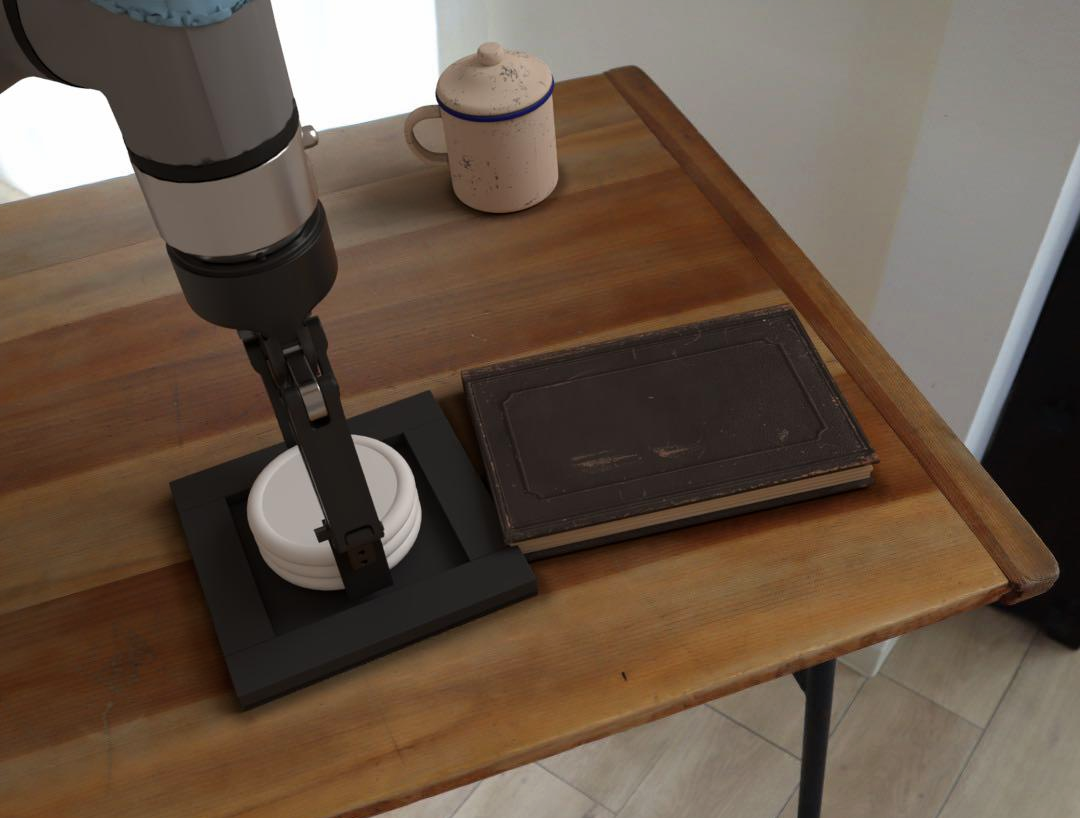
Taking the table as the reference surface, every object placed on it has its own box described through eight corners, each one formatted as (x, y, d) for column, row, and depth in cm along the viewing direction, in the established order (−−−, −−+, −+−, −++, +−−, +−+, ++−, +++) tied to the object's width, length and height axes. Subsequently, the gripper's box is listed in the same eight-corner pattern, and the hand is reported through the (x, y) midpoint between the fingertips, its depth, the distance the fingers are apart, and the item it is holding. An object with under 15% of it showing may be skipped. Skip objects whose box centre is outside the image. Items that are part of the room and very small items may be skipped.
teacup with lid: (559, 147, 99) (548, 11, 90) (564, 211, 93) (553, 73, 84) (417, 160, 99) (392, 26, 90) (413, 225, 93) (387, 88, 84)
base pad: (175, 497, 77) (168, 481, 75) (433, 405, 80) (430, 388, 79) (244, 712, 66) (236, 697, 64) (539, 594, 69) (537, 578, 68)
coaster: (456, 521, 71) (448, 482, 69) (331, 623, 67) (317, 586, 65) (350, 445, 76) (338, 406, 74) (227, 536, 72) (210, 498, 69)
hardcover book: (874, 485, 72) (880, 459, 70) (509, 566, 70) (505, 541, 69) (784, 323, 82) (787, 297, 81) (463, 390, 81) (459, 365, 79)
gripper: (398, 332, 48) (467, 640, 65) (257, 83, 62) (345, 391, 79) (221, 393, 47) (339, 691, 64) (117, 124, 61) (237, 429, 78)
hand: (342, 525), depth 72 cm, fingers closed on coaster, 10 cm apart
